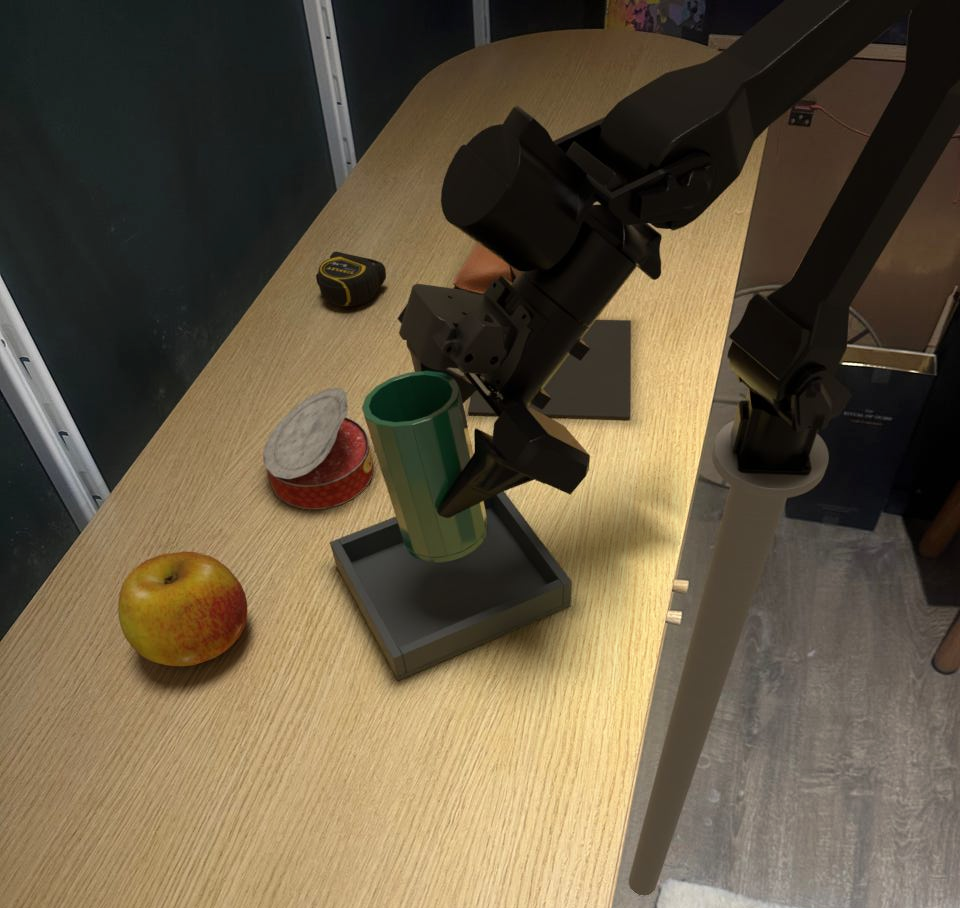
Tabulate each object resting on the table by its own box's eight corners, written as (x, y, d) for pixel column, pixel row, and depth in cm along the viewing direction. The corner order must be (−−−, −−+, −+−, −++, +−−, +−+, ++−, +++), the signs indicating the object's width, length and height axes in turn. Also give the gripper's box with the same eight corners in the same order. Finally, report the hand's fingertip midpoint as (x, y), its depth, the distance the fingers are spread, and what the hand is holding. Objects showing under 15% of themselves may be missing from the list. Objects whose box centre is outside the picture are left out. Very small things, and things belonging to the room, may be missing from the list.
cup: (492, 503, 67) (464, 366, 59) (483, 560, 63) (452, 421, 54) (411, 509, 68) (372, 375, 60) (397, 565, 64) (353, 429, 55)
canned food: (349, 540, 82) (306, 509, 72) (268, 495, 85) (216, 460, 75) (408, 439, 82) (373, 395, 73) (325, 397, 85) (281, 349, 75)
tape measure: (391, 287, 99) (386, 256, 96) (361, 318, 96) (355, 288, 93) (341, 274, 101) (335, 244, 98) (310, 305, 98) (303, 275, 95)
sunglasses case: (493, 208, 107) (519, 163, 102) (539, 241, 109) (567, 198, 104) (449, 287, 98) (475, 242, 92) (501, 322, 99) (529, 280, 94)
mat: (630, 323, 93) (630, 320, 92) (630, 420, 83) (630, 416, 83) (484, 320, 94) (484, 317, 94) (468, 415, 85) (467, 411, 85)
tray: (495, 503, 78) (494, 477, 75) (571, 605, 70) (572, 581, 68) (336, 566, 74) (329, 541, 72) (398, 681, 67) (392, 658, 64)
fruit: (246, 582, 73) (218, 517, 67) (267, 662, 68) (240, 600, 62) (134, 616, 72) (95, 552, 65) (147, 700, 67) (106, 640, 60)
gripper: (407, 173, 55) (286, 372, 61) (551, 321, 44) (387, 541, 51) (518, 254, 63) (400, 423, 69) (661, 395, 53) (507, 577, 59)
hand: (420, 483), depth 62 cm, fingers closed on cup, 7 cm apart
